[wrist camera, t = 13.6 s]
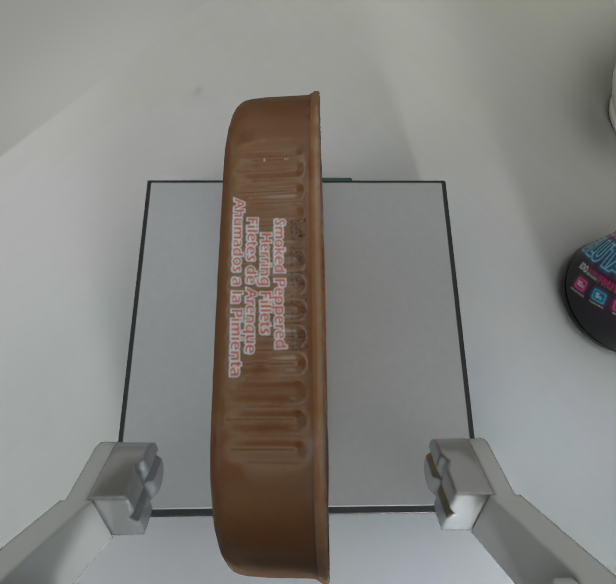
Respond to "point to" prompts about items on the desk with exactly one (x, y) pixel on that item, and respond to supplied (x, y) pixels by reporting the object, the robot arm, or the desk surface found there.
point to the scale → (339, 341)
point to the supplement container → (593, 291)
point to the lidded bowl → (613, 101)
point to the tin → (271, 346)
